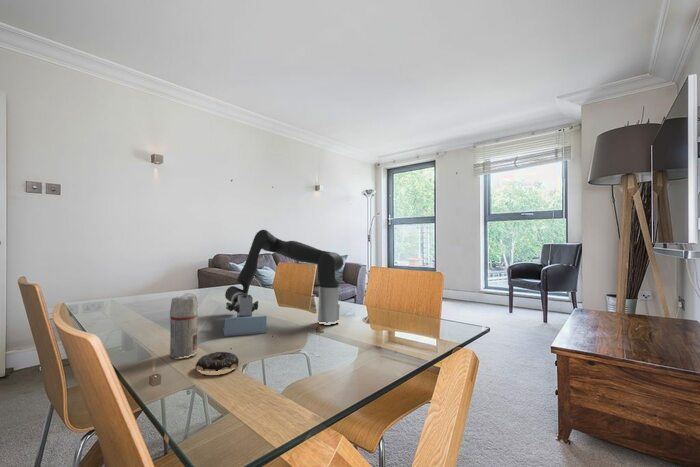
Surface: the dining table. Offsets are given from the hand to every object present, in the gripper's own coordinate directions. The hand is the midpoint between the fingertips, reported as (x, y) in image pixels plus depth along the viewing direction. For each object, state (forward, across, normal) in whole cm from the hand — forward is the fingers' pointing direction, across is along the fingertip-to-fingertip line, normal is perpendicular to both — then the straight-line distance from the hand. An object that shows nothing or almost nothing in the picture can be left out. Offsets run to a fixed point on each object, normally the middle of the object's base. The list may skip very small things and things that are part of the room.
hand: (245, 309), depth 137 cm
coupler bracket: (-2, 0, +9) cm, 9 cm away
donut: (+36, -12, +9) cm, 39 cm away
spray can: (+21, -22, +9) cm, 32 cm away
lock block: (-3, 0, +7) cm, 7 cm away
